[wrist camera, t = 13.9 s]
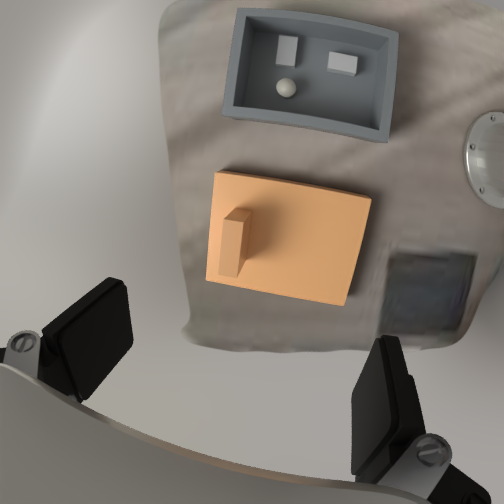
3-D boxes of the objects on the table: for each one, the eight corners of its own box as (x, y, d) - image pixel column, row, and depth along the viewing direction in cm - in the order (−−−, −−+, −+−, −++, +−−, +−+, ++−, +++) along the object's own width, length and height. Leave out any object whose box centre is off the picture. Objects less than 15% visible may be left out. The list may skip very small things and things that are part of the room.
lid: (367, 195, 33) (382, 209, 26) (342, 297, 38) (347, 329, 31) (220, 170, 35) (200, 178, 28) (211, 272, 40) (192, 299, 33)
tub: (385, 48, 26) (398, 32, 21) (374, 142, 31) (387, 142, 25) (248, 26, 28) (237, 7, 22) (235, 119, 32) (221, 115, 27)
